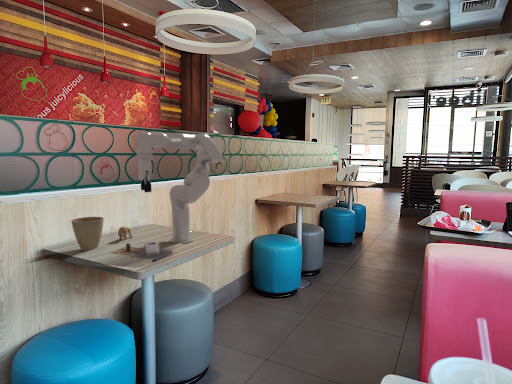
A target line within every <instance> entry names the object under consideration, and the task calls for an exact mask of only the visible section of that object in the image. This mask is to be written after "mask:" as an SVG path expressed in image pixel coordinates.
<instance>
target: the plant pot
mask: <svg viewBox="0 0 512 384" xmlns="http://www.w3.org/2000/svg"><path fill="white" fill-rule="evenodd" d="M104 219H105V218H104V217H102V216H86V217H85V216H84V217H78V218H73V219H71V226H72V229H73V230H72V231H73V233H74V236H75V240H76V242H77V243H78V246H79V248H80V250H81V251H82V252H87V251H91V250H95V249H97V248H98V247H99V244H100V241H101V239H102V234H103V227H104Z"/></svg>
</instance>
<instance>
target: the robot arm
mask: <svg viewBox="0 0 512 384" xmlns="http://www.w3.org/2000/svg"><path fill="white" fill-rule="evenodd" d="M135 143H136V161H138V180H140V190H141V191H144V193H152V181H151V179H152V161H153V160H154V157H153V155H154V154H153V148H165V149H166V148H167V149H178V150H198V152H197V153H196V166H195V167H194V168H193V169H192V170H191V171H190V172H189V173H188V174H187V175H186V176H185V178H184V179H183V184H177V185H173V186H172V187H171V188H170V190H169V199H170V203H171V218H172V219H171V222H172V223H171V225H172V237H170V238H169V241H170V243H171V244H173V243H174V244H188V243H191V242H192V241H193V240H194V238H193V237H192V236H191V235H192V234H193V231H192V230H191V228H190V226H191V223H190V205H189V204H194V203H196V202H197V201H198V200H199V199H200V198H201V197H202V196H203V195H204V194H205V193H206V191H208V189H209V187H210V185H211V179H210V177H209V173H210V168H209V167H210V166H209V164H217V163H220V162H221V160H223V152H222V151H221V149H220V148H219V147H218V145H217V144H216V142H215V141H214V140H213V139H212V138H211V136H209V135H208V134H206V133H198V134H197V133H183V132H174V133H173V132H172V133H165V132H162V131H161V132H159V131H157V132H155V131H154V132H147V131H138V132H137V133H136V134H135Z"/></svg>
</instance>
